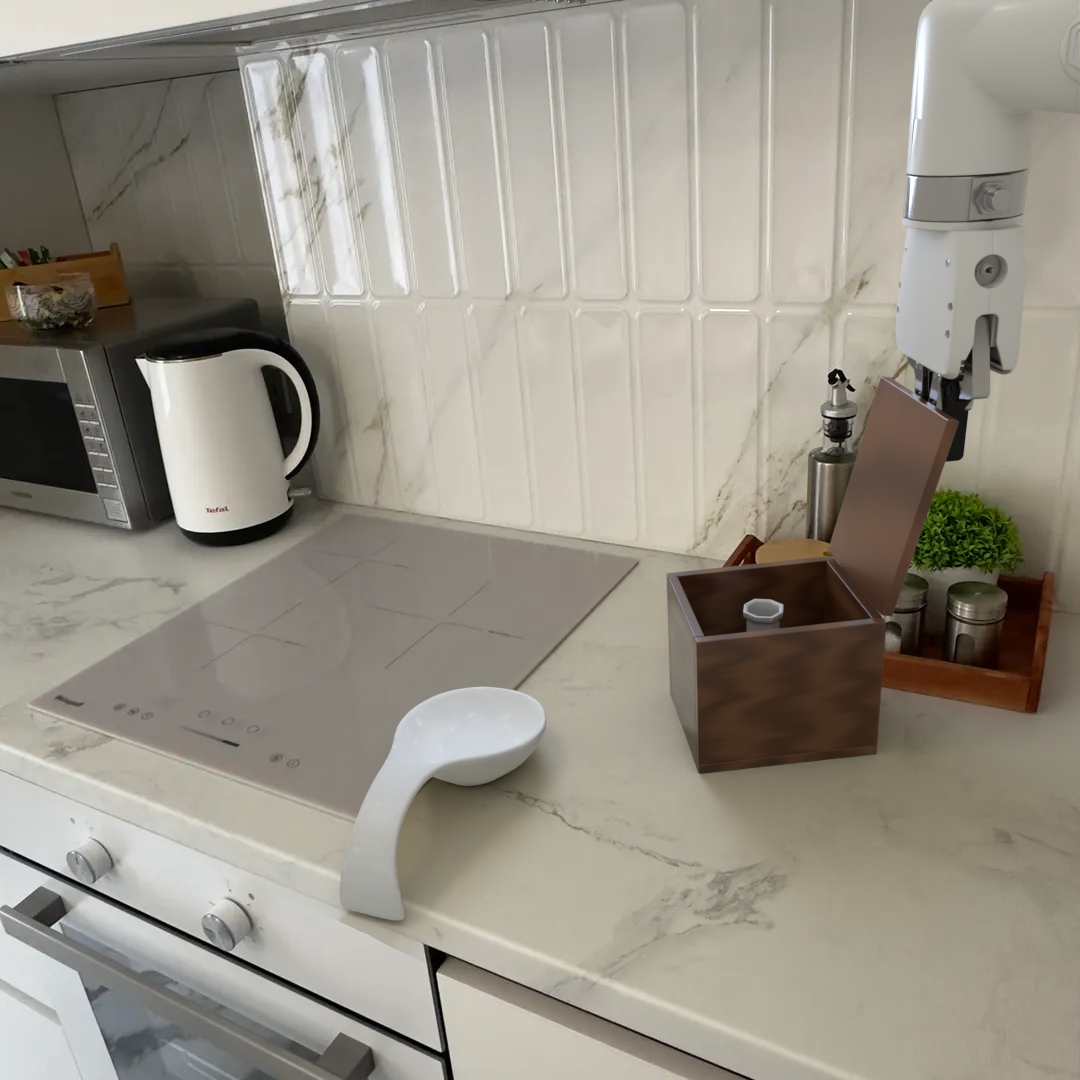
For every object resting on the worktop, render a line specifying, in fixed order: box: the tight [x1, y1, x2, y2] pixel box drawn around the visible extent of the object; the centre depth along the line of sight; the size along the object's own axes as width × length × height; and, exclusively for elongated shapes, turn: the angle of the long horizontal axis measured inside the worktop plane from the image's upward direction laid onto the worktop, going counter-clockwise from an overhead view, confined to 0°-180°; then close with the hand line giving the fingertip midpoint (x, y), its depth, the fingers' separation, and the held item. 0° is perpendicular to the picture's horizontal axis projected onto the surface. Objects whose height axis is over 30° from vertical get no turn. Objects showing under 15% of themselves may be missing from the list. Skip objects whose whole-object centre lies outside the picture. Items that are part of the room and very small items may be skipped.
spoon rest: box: [339, 686, 548, 922], centre depth 73 cm, size 24×12×7 cm, turn 161°
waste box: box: [665, 555, 887, 774], centre depth 79 cm, size 14×12×12 cm
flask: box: [743, 599, 783, 632], centre depth 79 cm, size 7×7×10 cm
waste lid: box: [827, 375, 959, 617], centre depth 74 cm, size 15×12×1 cm
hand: (937, 458), depth 73 cm, fingers closed
